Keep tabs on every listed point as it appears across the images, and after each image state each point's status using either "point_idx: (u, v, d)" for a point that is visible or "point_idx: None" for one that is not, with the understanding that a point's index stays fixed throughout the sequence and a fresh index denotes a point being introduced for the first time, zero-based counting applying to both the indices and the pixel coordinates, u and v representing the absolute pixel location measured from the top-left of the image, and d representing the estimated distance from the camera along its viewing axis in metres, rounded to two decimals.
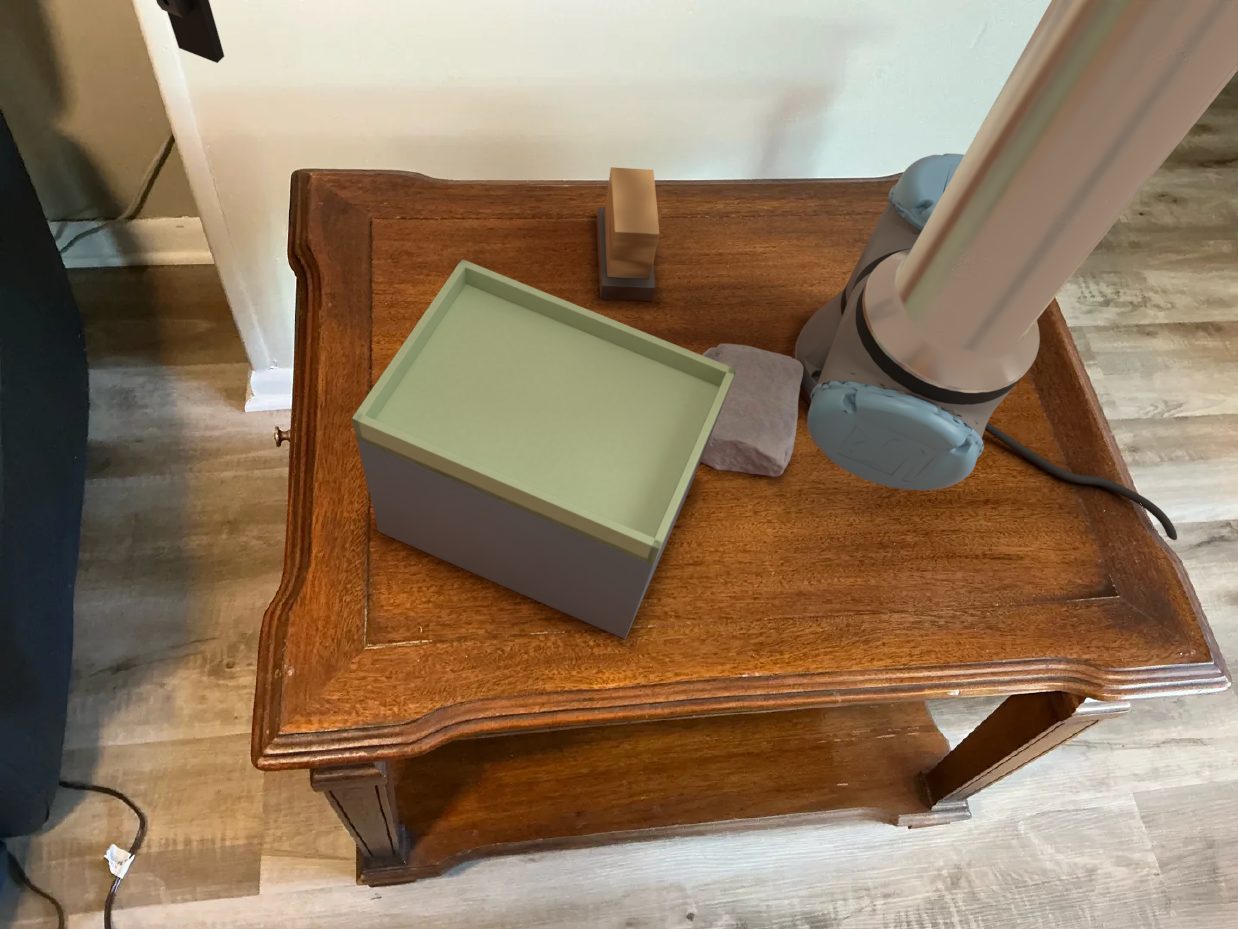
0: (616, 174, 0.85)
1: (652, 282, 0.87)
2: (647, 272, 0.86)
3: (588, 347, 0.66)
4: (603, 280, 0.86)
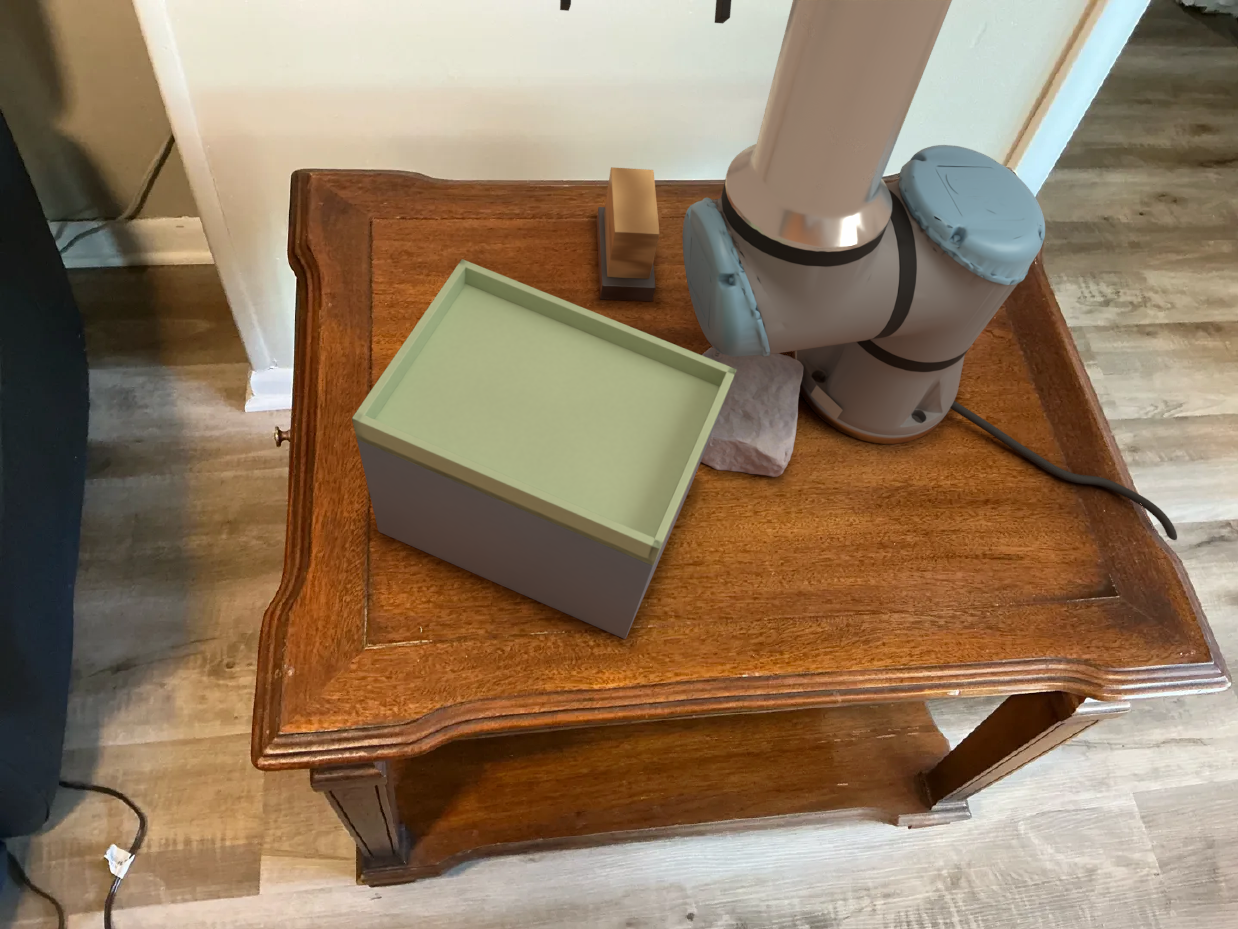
0: (616, 174, 0.85)
1: (652, 282, 0.87)
2: (647, 272, 0.86)
3: (588, 347, 0.66)
4: (603, 280, 0.86)
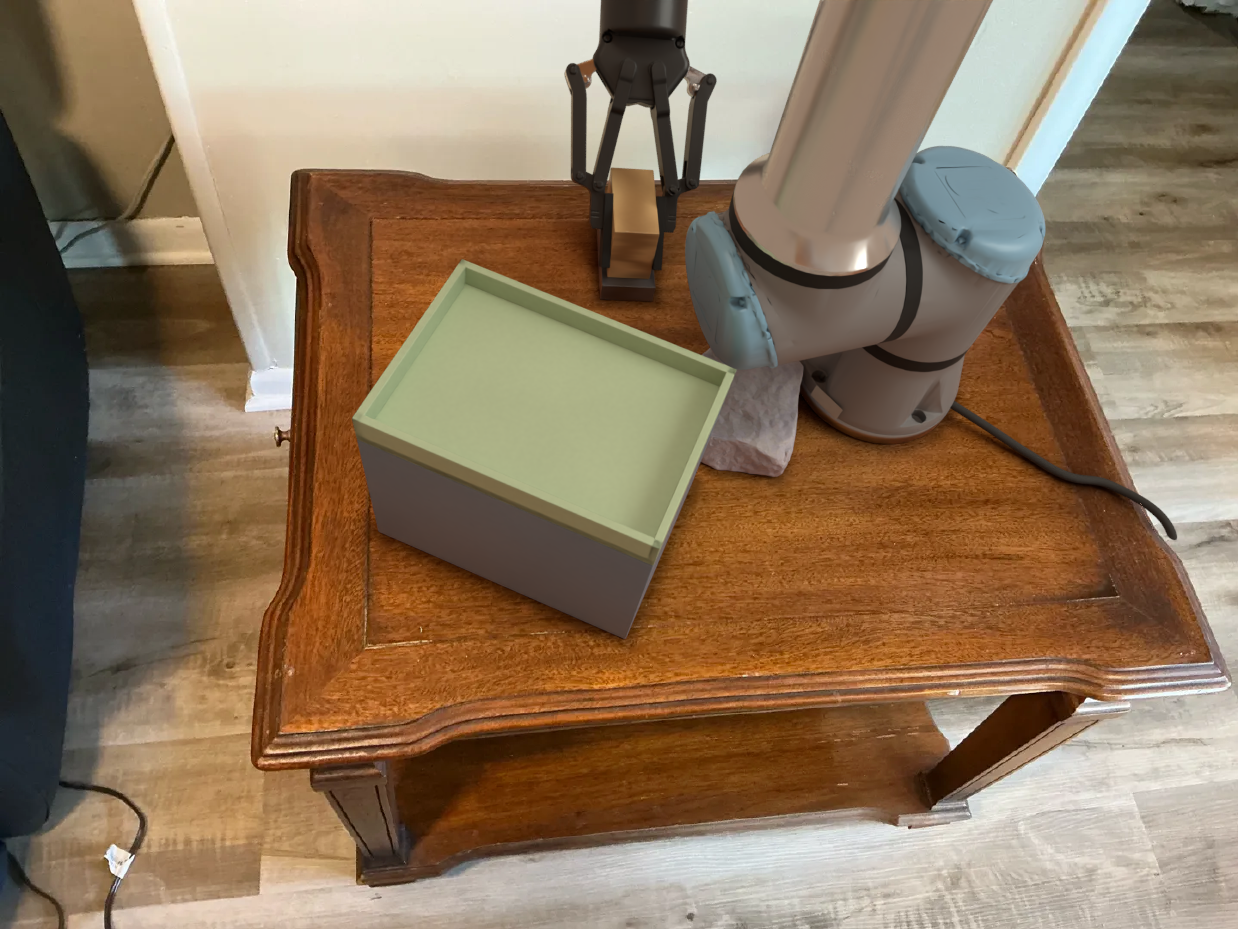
0: (616, 174, 0.85)
1: (652, 282, 0.87)
2: (647, 272, 0.86)
3: (588, 347, 0.66)
4: (603, 280, 0.86)
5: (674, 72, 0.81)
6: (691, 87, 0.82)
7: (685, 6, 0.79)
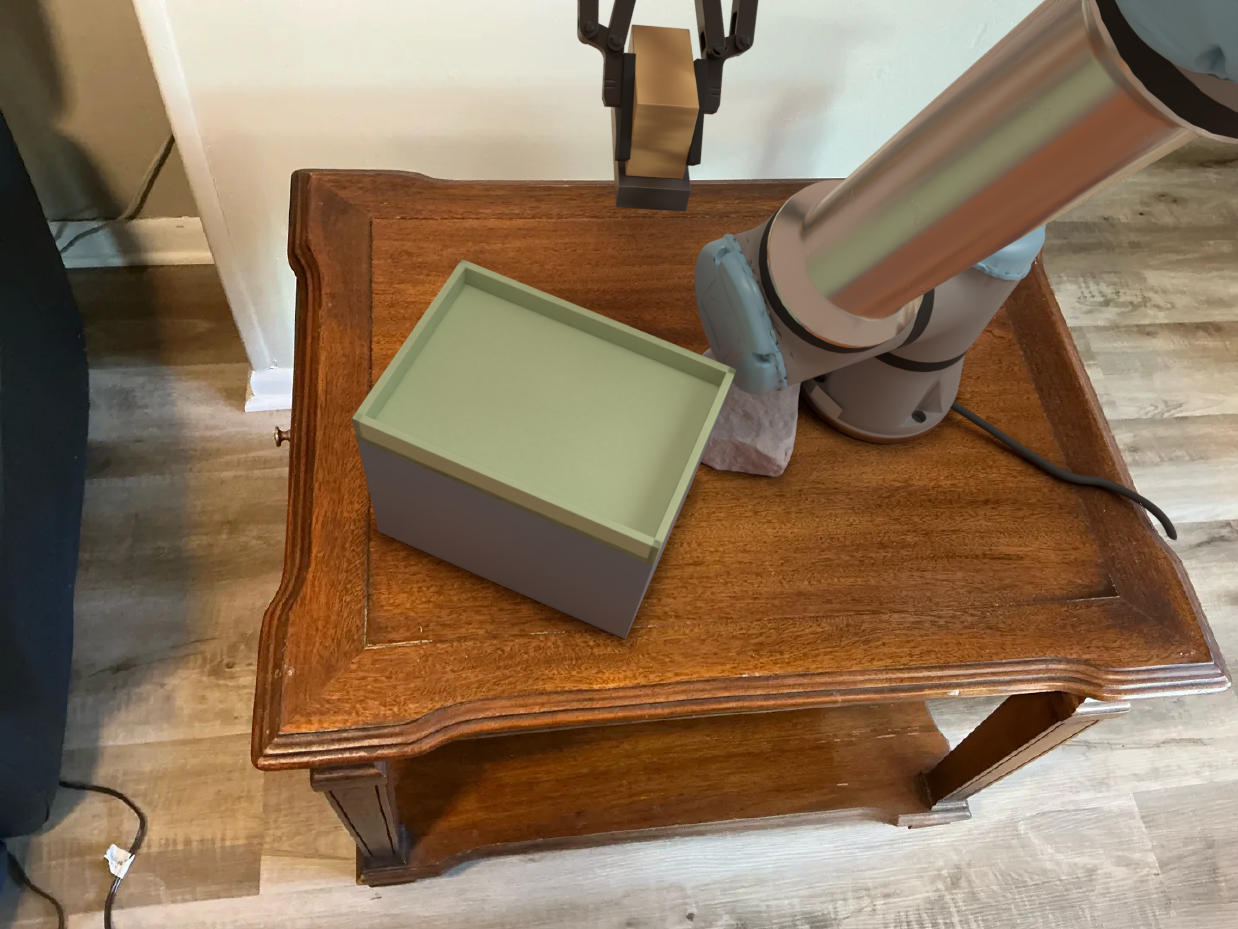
0: (639, 33, 0.62)
1: (686, 183, 0.64)
2: (680, 168, 0.63)
3: (588, 347, 0.66)
4: (620, 179, 0.63)
5: None
6: None
7: None
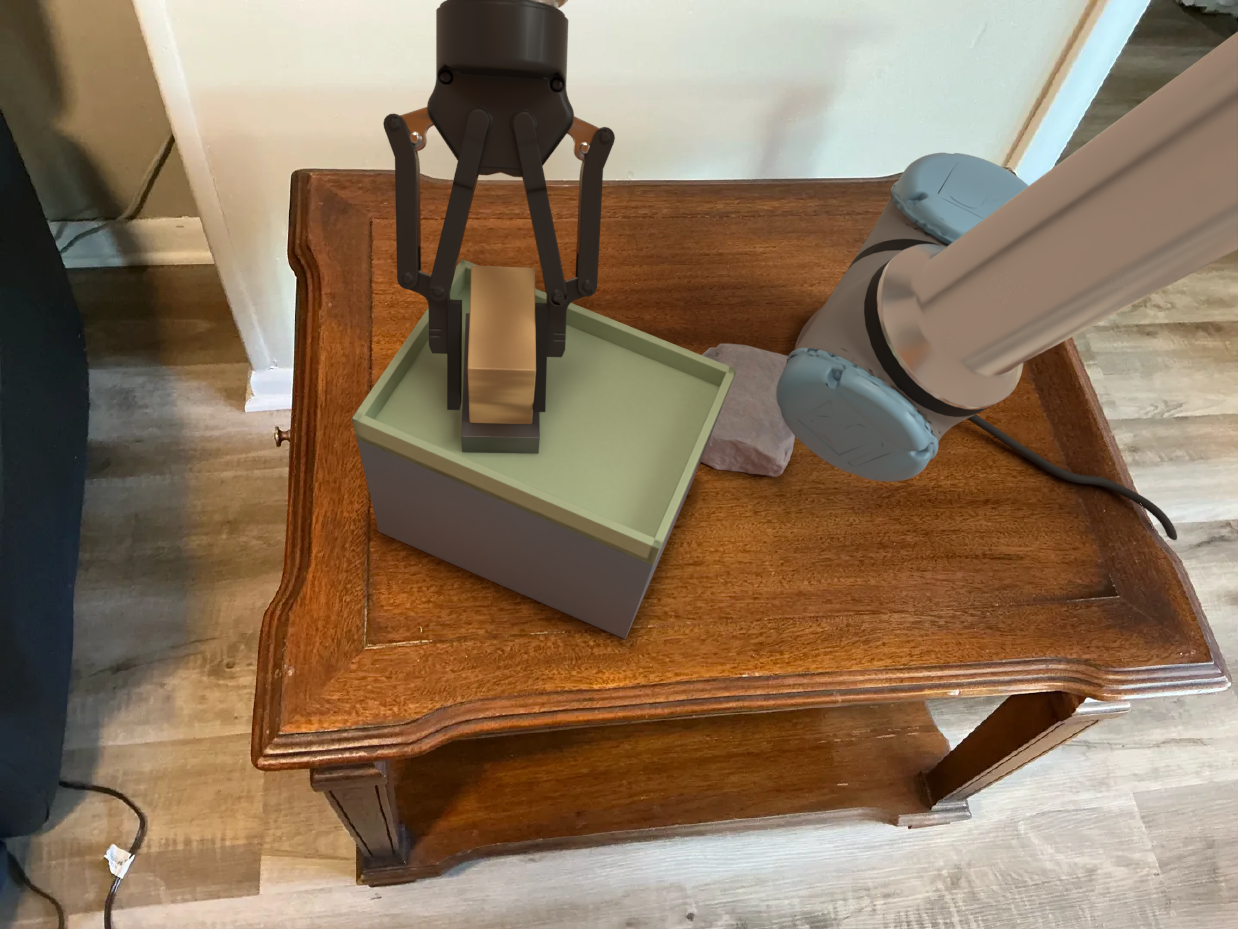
0: (478, 276, 0.58)
1: (536, 429, 0.60)
2: (527, 417, 0.59)
3: (588, 347, 0.66)
4: (463, 428, 0.59)
5: (550, 127, 0.54)
6: (578, 148, 0.55)
7: (562, 29, 0.52)
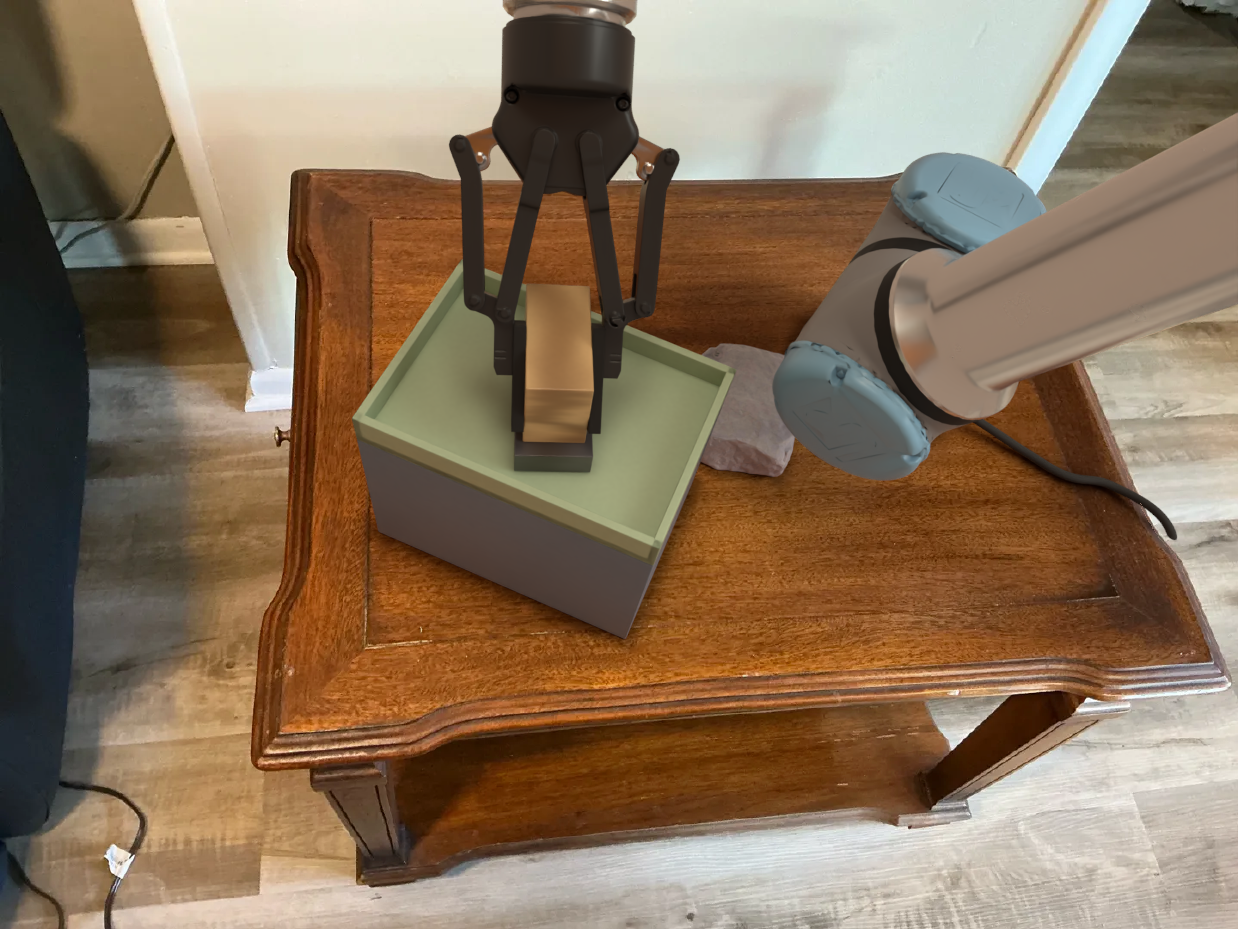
0: (533, 295, 0.57)
1: (589, 448, 0.59)
2: (581, 436, 0.59)
3: None
4: (516, 447, 0.59)
5: (615, 147, 0.53)
6: (642, 168, 0.54)
7: (630, 48, 0.51)
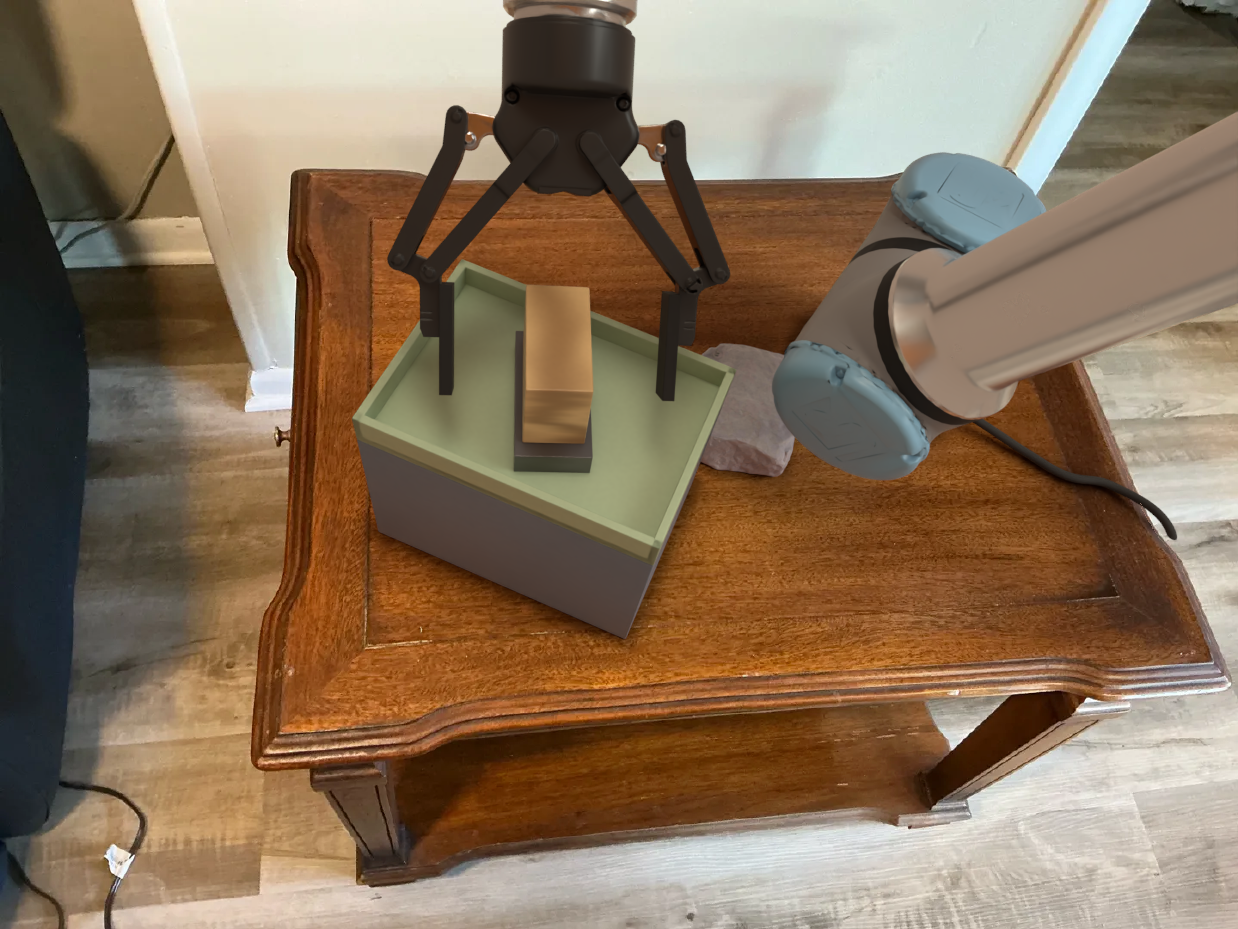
0: (533, 296, 0.58)
1: (588, 449, 0.60)
2: (580, 436, 0.59)
3: None
4: (516, 448, 0.59)
5: (616, 147, 0.53)
6: (654, 152, 0.54)
7: (630, 48, 0.52)
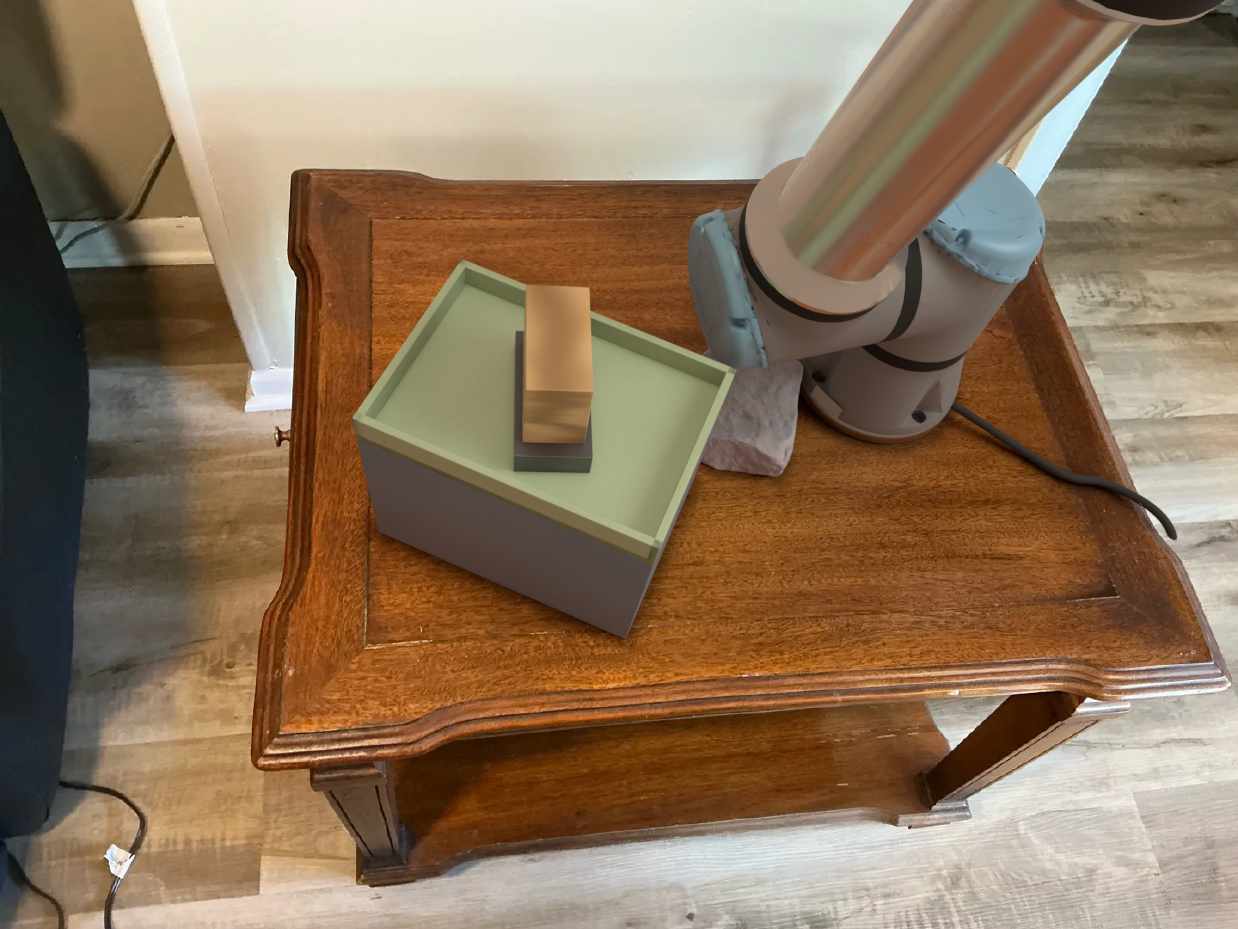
0: (533, 296, 0.58)
1: (588, 449, 0.60)
2: (580, 436, 0.59)
3: None
4: (516, 448, 0.59)
5: None
6: None
7: None
